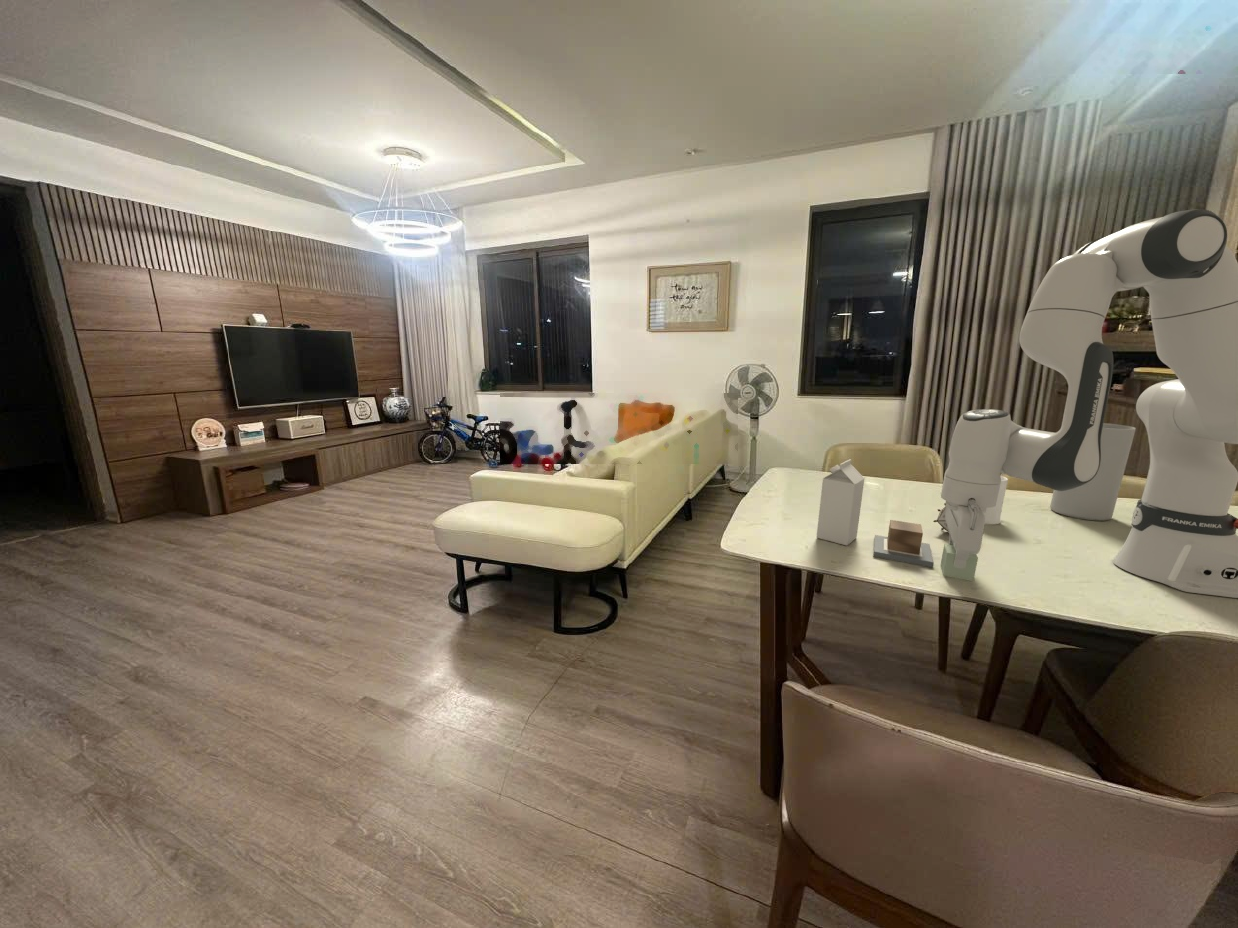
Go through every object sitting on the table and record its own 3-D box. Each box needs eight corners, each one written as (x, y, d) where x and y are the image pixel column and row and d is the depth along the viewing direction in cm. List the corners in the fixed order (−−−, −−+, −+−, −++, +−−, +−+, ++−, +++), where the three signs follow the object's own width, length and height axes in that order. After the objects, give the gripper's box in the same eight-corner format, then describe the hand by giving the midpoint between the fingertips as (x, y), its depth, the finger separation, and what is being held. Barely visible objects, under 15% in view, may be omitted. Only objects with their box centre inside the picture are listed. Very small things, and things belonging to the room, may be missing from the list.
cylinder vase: (1038, 505, 137) (1057, 421, 131) (1086, 507, 136) (1107, 422, 130) (1072, 520, 125) (1094, 428, 119) (1125, 523, 124) (1150, 429, 118)
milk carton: (856, 538, 113) (866, 461, 108) (847, 546, 108) (857, 466, 103) (826, 530, 117) (835, 457, 113) (816, 538, 112) (824, 461, 108)
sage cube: (969, 571, 96) (973, 548, 95) (973, 581, 92) (978, 558, 90) (940, 566, 98) (944, 544, 97) (942, 575, 94) (947, 552, 93)
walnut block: (917, 545, 105) (921, 524, 104) (919, 555, 100) (922, 533, 99) (887, 540, 108) (890, 519, 107) (887, 549, 103) (890, 528, 102)
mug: (985, 511, 132) (993, 470, 129) (1017, 522, 124) (1027, 478, 121) (952, 515, 129) (960, 473, 126) (983, 526, 121) (992, 481, 118)
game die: (959, 550, 115) (992, 529, 107) (926, 536, 116) (955, 514, 108) (955, 523, 121) (985, 501, 113) (923, 510, 121) (951, 487, 114)
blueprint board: (928, 548, 107) (929, 543, 106) (932, 567, 97) (933, 561, 97) (874, 539, 112) (874, 534, 111) (873, 556, 102) (874, 551, 102)
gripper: (999, 510, 81) (983, 583, 84) (980, 483, 98) (967, 544, 102) (955, 504, 84) (941, 574, 87) (944, 478, 101) (933, 538, 105)
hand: (955, 557), depth 95 cm, fingers open, 8 cm apart
